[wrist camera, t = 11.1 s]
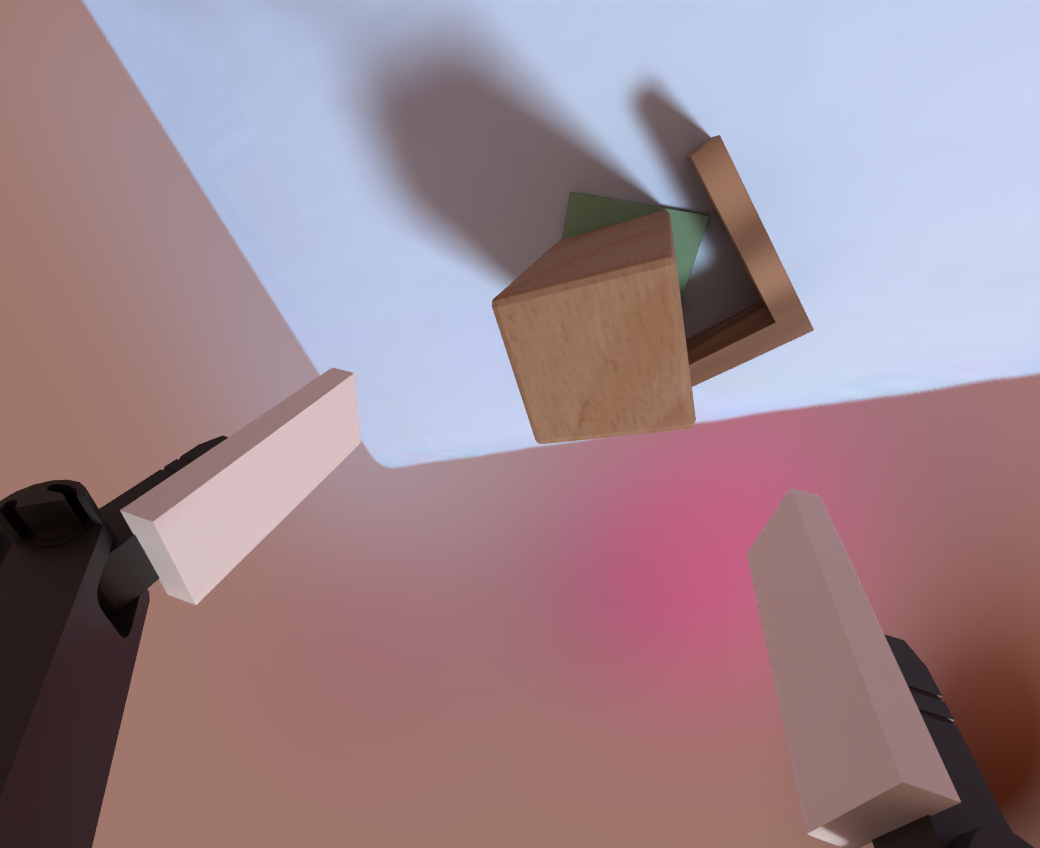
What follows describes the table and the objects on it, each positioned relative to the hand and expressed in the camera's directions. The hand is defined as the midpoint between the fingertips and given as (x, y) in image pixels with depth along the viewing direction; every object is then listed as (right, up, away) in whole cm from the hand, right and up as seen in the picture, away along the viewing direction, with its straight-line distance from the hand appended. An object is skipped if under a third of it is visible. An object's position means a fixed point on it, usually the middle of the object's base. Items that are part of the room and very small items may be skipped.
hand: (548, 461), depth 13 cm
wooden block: (+9, +15, +28) cm, 33 cm away
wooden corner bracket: (+11, +14, +28) cm, 33 cm away
